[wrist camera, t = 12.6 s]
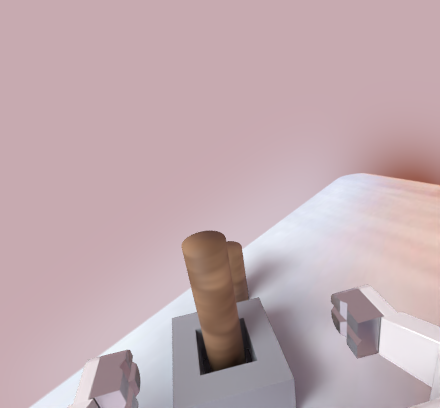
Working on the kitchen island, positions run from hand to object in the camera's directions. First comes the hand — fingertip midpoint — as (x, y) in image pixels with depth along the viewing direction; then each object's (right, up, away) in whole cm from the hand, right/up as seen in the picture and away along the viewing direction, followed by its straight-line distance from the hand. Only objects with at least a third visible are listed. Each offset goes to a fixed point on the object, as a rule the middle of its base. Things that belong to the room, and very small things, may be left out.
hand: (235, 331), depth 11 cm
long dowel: (0, -13, +18) cm, 22 cm away
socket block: (0, -13, +18) cm, 22 cm away
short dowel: (+2, -8, +28) cm, 29 cm away
